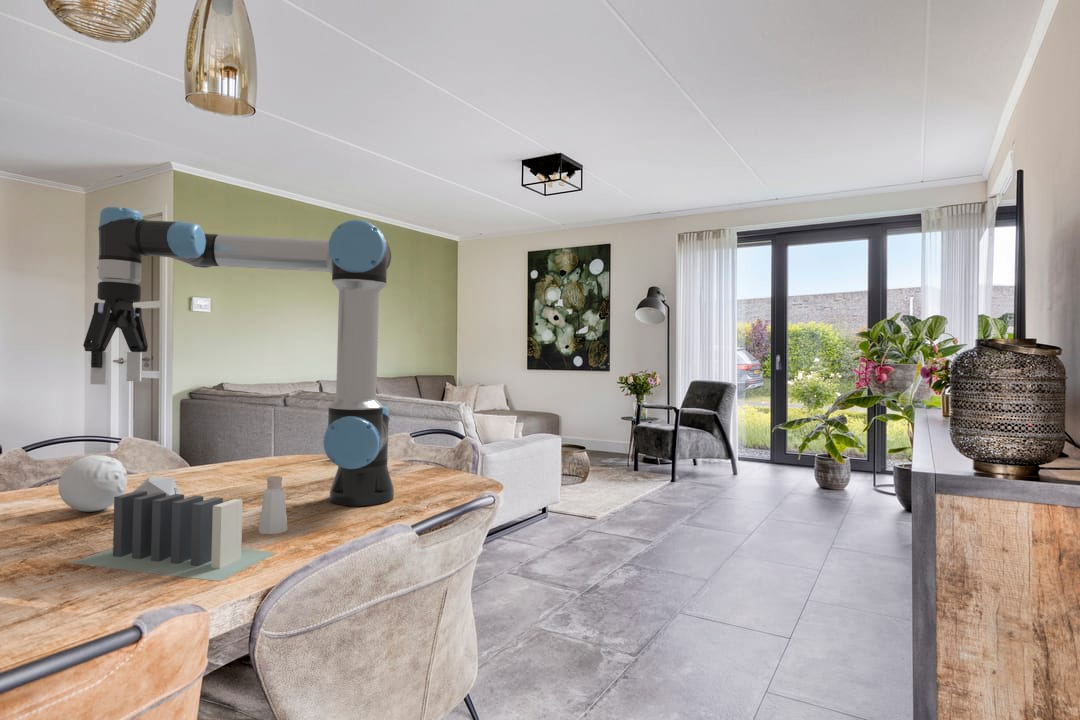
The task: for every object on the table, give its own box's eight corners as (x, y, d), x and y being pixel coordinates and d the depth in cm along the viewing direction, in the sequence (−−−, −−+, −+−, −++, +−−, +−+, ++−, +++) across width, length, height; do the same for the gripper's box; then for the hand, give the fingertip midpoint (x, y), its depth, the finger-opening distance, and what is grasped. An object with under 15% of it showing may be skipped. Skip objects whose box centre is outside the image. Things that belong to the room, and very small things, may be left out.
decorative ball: (104, 518, 126) (106, 461, 126) (43, 518, 125) (44, 460, 125) (138, 504, 138) (139, 451, 138) (82, 503, 137) (83, 450, 137)
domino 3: (150, 560, 101) (152, 500, 101) (174, 551, 106) (176, 493, 105) (159, 561, 100) (160, 501, 100) (182, 552, 105) (184, 494, 105)
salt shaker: (290, 528, 123) (292, 474, 123) (284, 536, 118) (285, 479, 117) (262, 529, 122) (263, 474, 122) (254, 537, 117) (256, 480, 117)
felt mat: (69, 566, 99) (69, 562, 99) (142, 541, 112) (142, 538, 112) (219, 585, 93) (219, 581, 93) (277, 556, 107) (277, 552, 107)
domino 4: (170, 562, 100) (172, 502, 100) (193, 553, 105) (195, 495, 105) (179, 563, 100) (180, 503, 99) (201, 554, 104) (203, 496, 104)
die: (143, 525, 125) (177, 485, 127) (113, 501, 126) (147, 463, 129) (165, 528, 132) (197, 491, 135) (136, 506, 134) (168, 469, 137)
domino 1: (112, 556, 102) (114, 496, 102) (138, 547, 107) (139, 490, 107) (120, 557, 102) (122, 497, 102) (145, 548, 107) (147, 491, 107)
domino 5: (190, 565, 99) (192, 504, 99) (213, 555, 104) (214, 497, 104) (199, 566, 99) (200, 504, 99) (221, 556, 104) (222, 497, 104)
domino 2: (132, 558, 101) (133, 498, 101) (156, 549, 106) (158, 492, 106) (140, 559, 101) (141, 499, 101) (164, 550, 106) (165, 492, 106)
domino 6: (211, 567, 98) (212, 505, 98) (232, 557, 103) (234, 499, 103) (219, 568, 98) (221, 506, 98) (241, 558, 103) (242, 499, 103)
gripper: (131, 287, 140) (129, 379, 141) (62, 274, 116) (60, 385, 116) (166, 289, 142) (164, 380, 142) (105, 275, 117) (103, 386, 117)
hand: (117, 382), depth 129 cm, fingers open, 13 cm apart
